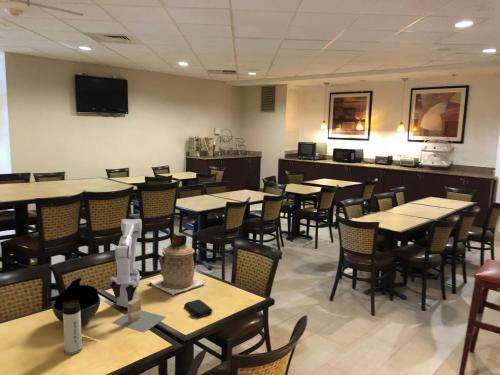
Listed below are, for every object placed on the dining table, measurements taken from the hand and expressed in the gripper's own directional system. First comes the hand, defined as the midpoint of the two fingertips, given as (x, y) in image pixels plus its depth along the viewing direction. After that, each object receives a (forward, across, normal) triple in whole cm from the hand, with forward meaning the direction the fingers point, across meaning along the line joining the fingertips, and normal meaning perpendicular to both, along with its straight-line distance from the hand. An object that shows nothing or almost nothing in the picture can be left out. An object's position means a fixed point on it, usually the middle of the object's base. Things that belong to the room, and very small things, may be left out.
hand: (123, 298), depth 178 cm
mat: (+10, +8, +1) cm, 13 cm away
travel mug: (+10, +1, -30) cm, 32 cm away
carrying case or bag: (+10, +27, +22) cm, 36 cm away
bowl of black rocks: (+10, -16, -13) cm, 23 cm away
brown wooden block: (+9, +6, 0) cm, 11 cm away
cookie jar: (+9, -1, +45) cm, 46 cm away
